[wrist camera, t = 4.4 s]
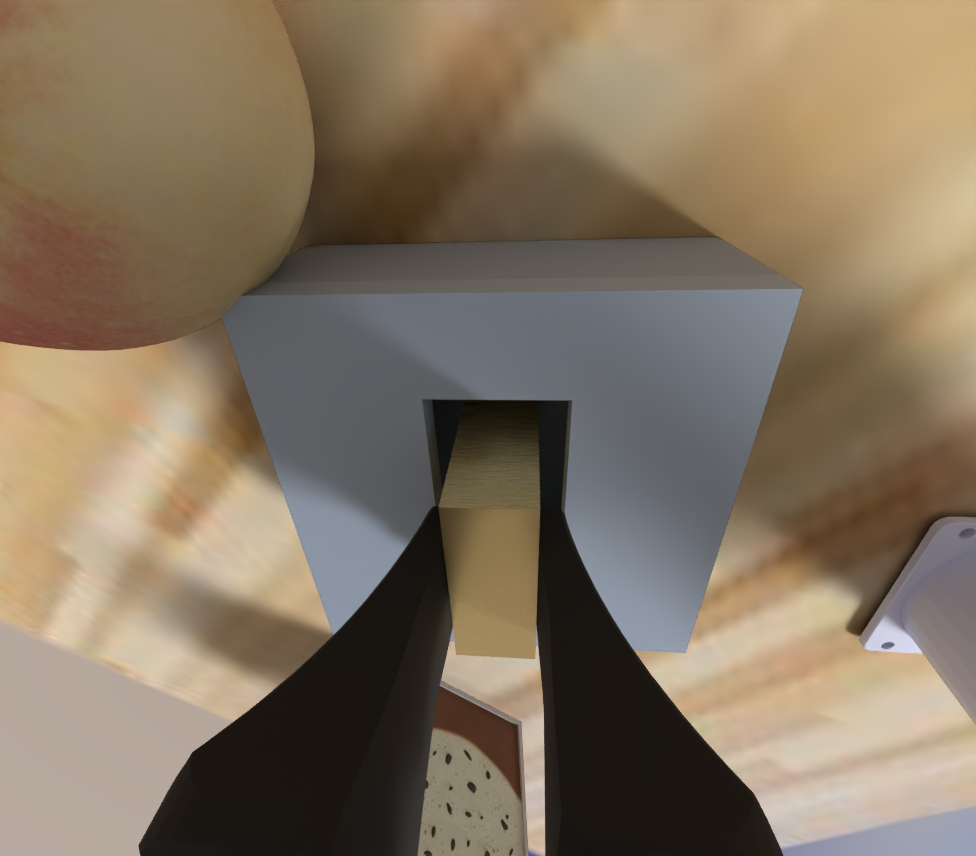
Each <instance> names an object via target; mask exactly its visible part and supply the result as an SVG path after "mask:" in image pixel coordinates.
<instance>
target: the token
mask: <svg viewBox="0 0 976 856" xmlns="http://www.w3.org/2000/svg"><path fill="white" fill-rule="evenodd" d="M439 516H440V524H441V532H442V540H443V549H444V557H445V565H446V573H447V582H448V590H449V598H450V607H451V615H452V623H453V631H454V640H455V648H456V655H473V656H491V657H508V658H526V659H535V648H536V618H537V589H538V560H539V530H540V475H539V424H538V400H465V402H464V406H463V410H462V414H461V418H460V422H459V426H458V430H457V434H456V438H455V442H454V446H453V450H452V454H451V459H450V463H449V467H448V471H447V475H446V479H445V483H444V487H443V491H442V495H441V499H440V503H439Z"/></svg>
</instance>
